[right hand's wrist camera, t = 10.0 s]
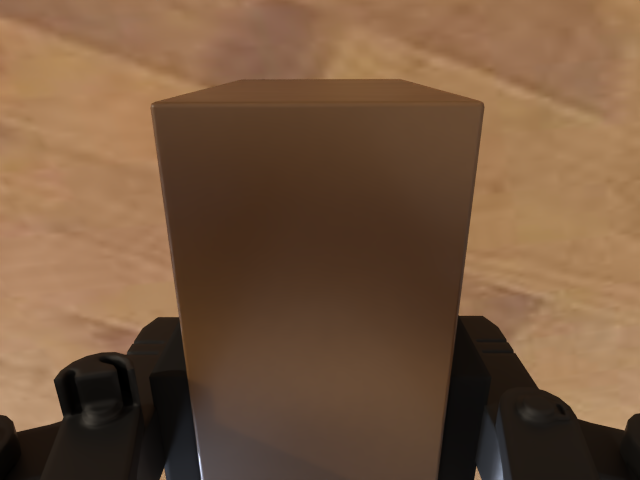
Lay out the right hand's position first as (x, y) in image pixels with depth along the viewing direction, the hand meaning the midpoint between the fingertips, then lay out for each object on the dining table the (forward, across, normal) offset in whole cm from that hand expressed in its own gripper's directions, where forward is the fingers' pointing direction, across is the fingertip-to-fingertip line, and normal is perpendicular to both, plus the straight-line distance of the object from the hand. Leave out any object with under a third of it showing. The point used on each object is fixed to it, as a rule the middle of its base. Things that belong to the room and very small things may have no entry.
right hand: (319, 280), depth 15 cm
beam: (+1, 0, -20) cm, 20 cm away
